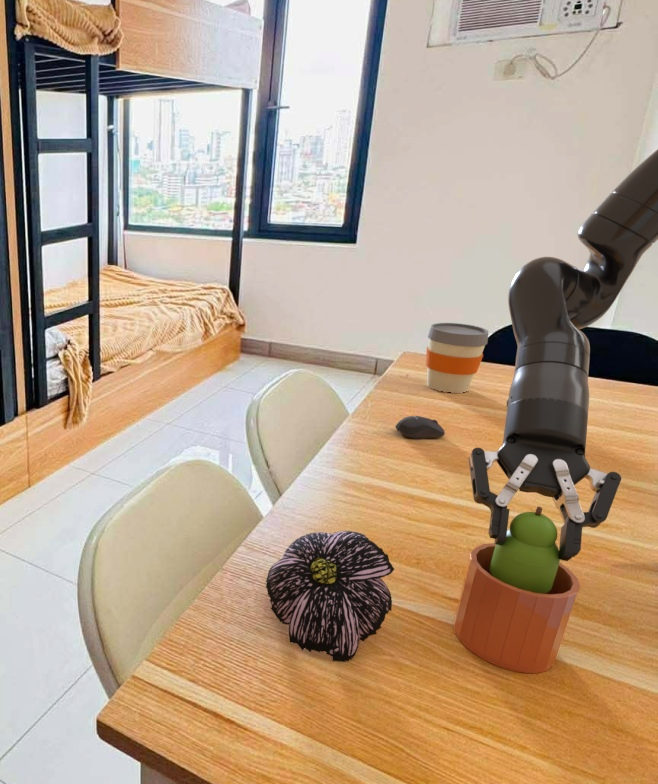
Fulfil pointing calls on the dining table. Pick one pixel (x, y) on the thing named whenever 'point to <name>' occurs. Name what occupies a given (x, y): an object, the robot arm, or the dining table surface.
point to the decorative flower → (331, 591)
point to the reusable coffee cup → (454, 355)
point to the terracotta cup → (513, 616)
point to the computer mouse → (419, 428)
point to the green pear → (528, 553)
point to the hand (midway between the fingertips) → (532, 550)
